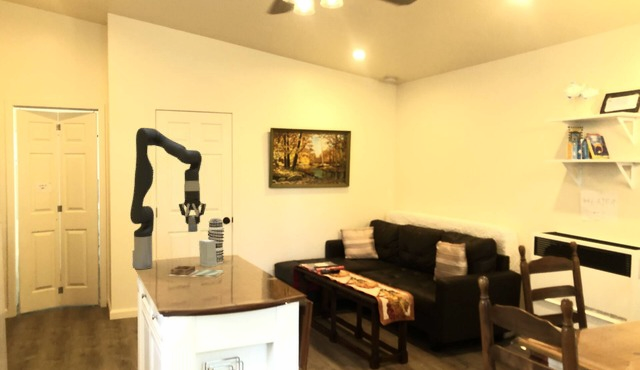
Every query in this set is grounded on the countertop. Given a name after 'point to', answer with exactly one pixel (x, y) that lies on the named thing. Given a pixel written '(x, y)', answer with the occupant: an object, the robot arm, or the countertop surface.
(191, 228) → the end cover
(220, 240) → the decorative candle
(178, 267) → the caddy
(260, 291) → the countertop surface
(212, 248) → the skincare box
